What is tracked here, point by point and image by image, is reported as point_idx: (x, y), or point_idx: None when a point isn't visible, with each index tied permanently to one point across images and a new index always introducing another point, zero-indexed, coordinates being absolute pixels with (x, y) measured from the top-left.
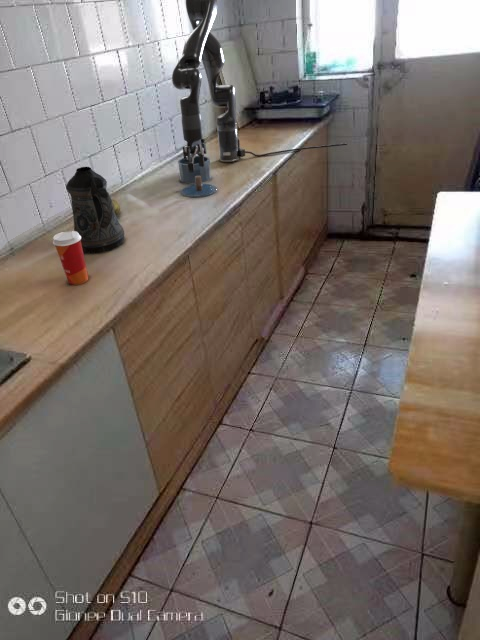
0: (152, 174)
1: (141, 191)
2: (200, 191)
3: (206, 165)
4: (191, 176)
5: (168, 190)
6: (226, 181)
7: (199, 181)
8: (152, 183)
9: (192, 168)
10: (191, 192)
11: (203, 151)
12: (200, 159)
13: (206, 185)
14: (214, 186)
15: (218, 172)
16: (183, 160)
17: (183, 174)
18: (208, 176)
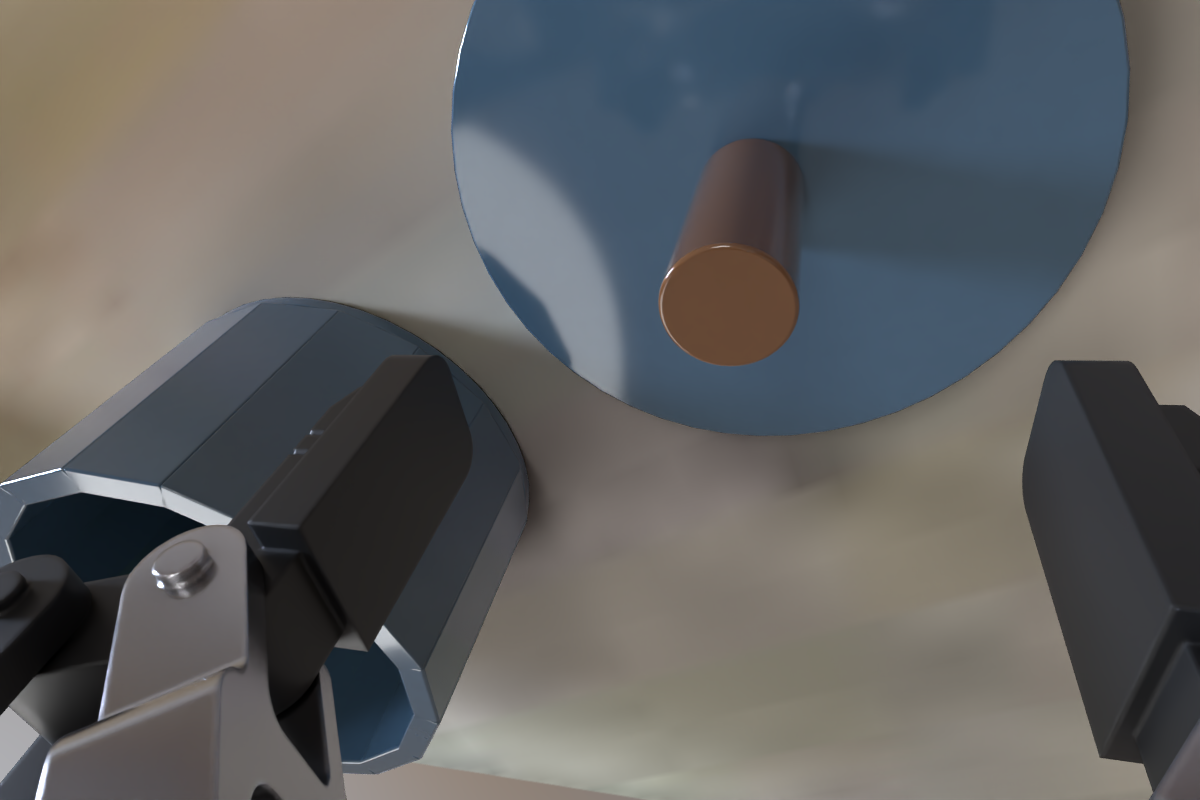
0: (466, 769)
1: (878, 751)
2: (835, 115)
3: (165, 435)
4: (467, 494)
5: (784, 573)
6: (141, 33)
7: (776, 212)
8: (644, 730)
9: (1165, 470)
10: (920, 248)
11: (50, 686)
12: (373, 546)
13: (519, 186)
14: (498, 4)
15: (40, 334)
16: None
17: (492, 593)
18: (262, 328)
